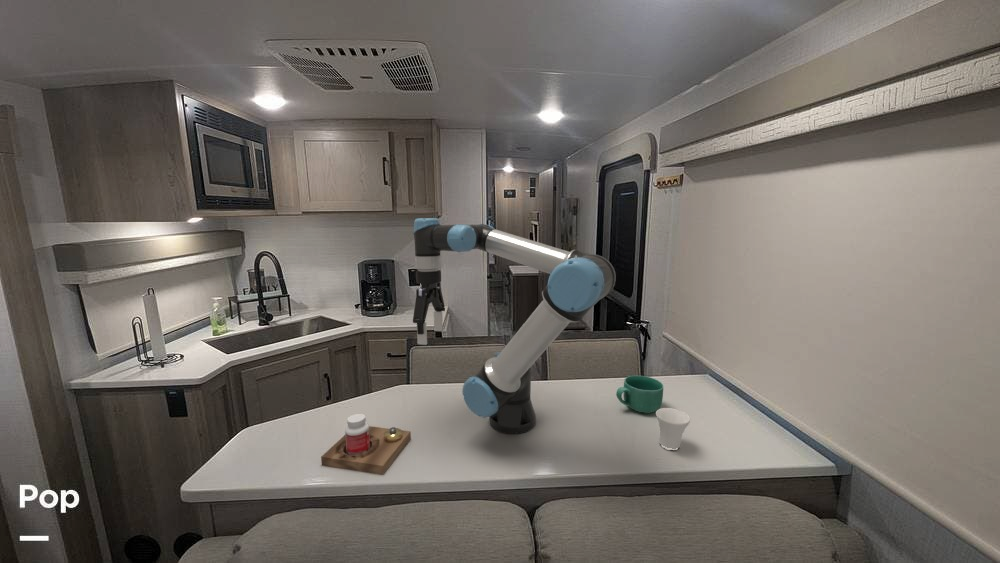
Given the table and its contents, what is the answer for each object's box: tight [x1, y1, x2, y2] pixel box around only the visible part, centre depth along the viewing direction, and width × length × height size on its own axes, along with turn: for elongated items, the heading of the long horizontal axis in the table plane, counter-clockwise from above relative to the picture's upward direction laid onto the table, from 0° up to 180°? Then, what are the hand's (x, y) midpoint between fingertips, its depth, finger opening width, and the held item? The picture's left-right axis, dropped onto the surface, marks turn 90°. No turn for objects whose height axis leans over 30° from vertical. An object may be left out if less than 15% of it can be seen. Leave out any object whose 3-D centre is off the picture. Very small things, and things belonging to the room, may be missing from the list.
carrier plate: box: [320, 425, 412, 475], centre depth 104 cm, size 18×16×2 cm
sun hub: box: [384, 426, 402, 443], centre depth 106 cm, size 5×5×3 cm
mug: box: [615, 375, 664, 414], centre depth 127 cm, size 17×13×10 cm
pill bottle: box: [344, 413, 370, 455], centre depth 102 cm, size 6×6×11 cm
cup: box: [655, 407, 691, 449], centre depth 105 cm, size 9×9×10 cm
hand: (430, 337), depth 115 cm, fingers open, 13 cm apart
